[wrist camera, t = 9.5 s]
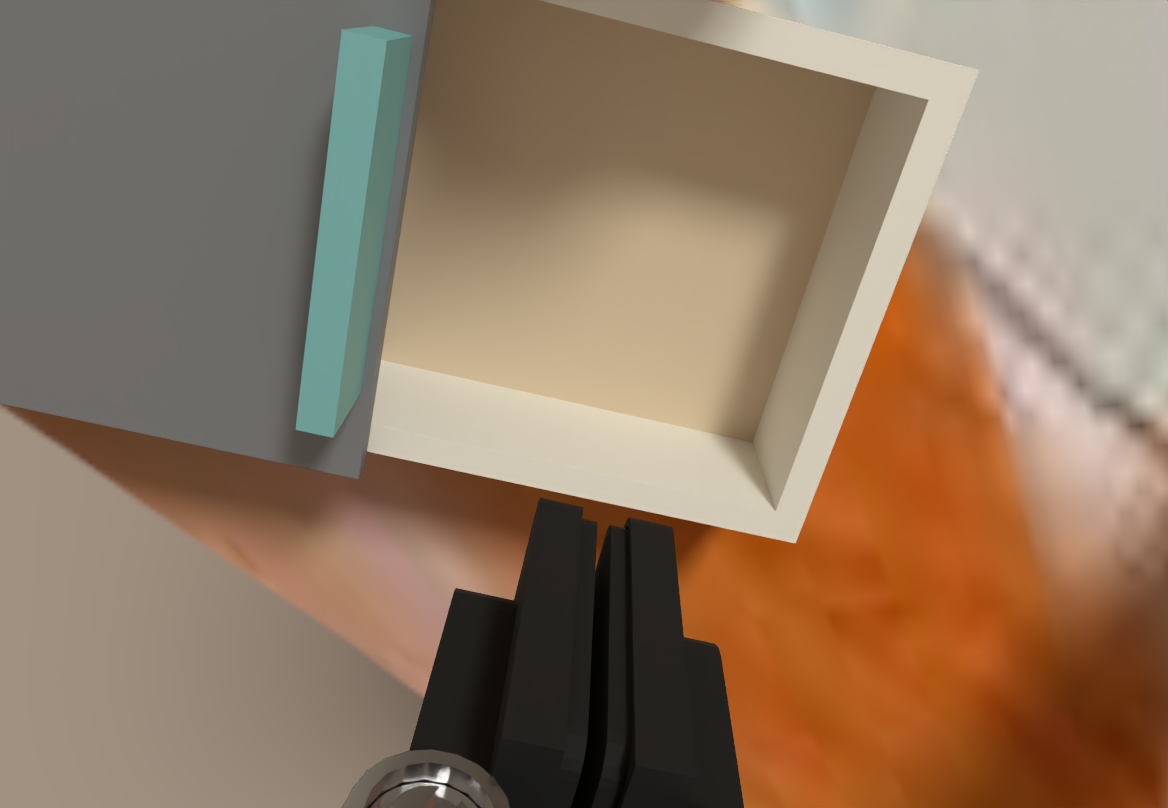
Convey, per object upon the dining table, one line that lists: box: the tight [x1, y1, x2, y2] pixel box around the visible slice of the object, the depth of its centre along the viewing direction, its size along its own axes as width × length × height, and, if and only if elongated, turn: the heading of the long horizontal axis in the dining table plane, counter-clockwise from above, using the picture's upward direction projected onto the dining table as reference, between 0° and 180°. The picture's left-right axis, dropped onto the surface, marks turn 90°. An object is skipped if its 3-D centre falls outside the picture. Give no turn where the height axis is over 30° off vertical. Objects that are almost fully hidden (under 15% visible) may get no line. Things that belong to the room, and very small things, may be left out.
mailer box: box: [367, 0, 979, 543], centre depth 29 cm, size 20×15×6 cm
